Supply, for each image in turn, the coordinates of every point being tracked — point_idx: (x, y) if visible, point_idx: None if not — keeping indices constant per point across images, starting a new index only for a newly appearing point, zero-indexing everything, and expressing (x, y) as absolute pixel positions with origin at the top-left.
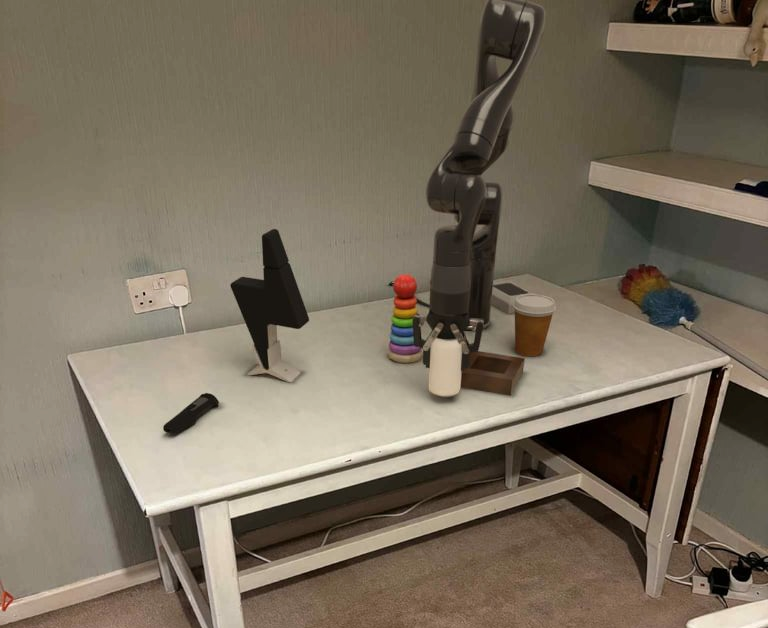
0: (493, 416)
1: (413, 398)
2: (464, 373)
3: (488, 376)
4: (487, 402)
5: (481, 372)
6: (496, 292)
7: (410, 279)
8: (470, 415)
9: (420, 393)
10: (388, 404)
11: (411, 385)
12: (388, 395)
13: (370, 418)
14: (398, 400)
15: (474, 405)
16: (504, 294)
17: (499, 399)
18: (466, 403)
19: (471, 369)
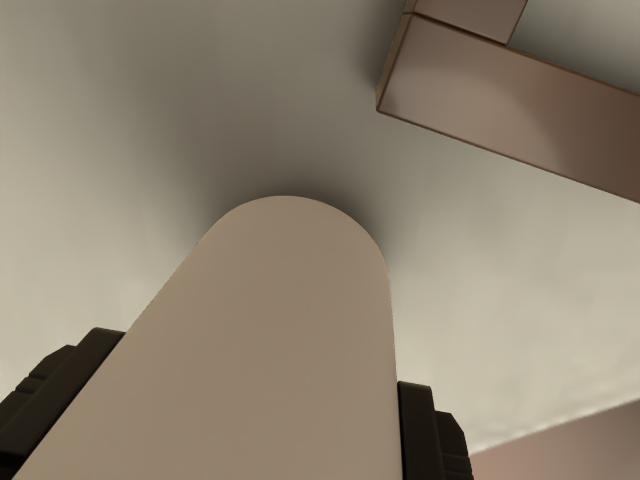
0: (535, 427)
1: (139, 263)
2: (444, 132)
3: (636, 202)
4: (544, 299)
5: (598, 134)
6: None
7: None
8: None
9: (166, 204)
10: (36, 323)
11: (94, 97)
12: (5, 234)
13: None
14: (70, 285)
15: (461, 331)
16: None
17: (630, 264)
18: (421, 311)
19: (519, 76)
